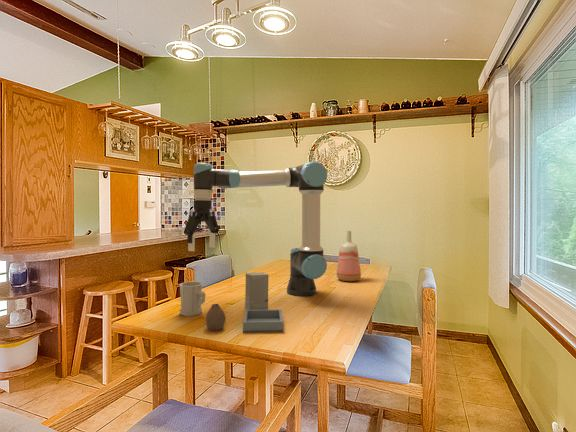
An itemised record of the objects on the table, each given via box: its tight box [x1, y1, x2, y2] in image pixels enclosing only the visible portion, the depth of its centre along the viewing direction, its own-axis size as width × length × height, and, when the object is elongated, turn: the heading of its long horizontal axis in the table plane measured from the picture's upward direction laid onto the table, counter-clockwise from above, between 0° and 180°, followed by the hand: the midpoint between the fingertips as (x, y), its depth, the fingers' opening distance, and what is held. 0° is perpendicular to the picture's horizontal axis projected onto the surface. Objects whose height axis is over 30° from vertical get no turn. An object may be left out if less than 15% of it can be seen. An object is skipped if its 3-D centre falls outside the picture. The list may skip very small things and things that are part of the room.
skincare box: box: [244, 272, 269, 311], centre depth 140 cm, size 8×7×16 cm
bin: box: [242, 308, 284, 333], centre depth 123 cm, size 14×14×4 cm
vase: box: [205, 303, 226, 332], centre depth 119 cm, size 7×7×9 cm
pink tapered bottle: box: [335, 230, 362, 283], centre depth 199 cm, size 14×14×30 cm
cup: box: [179, 281, 206, 317], centre depth 136 cm, size 10×9×12 cm
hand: (202, 249), depth 143 cm, fingers open, 13 cm apart
